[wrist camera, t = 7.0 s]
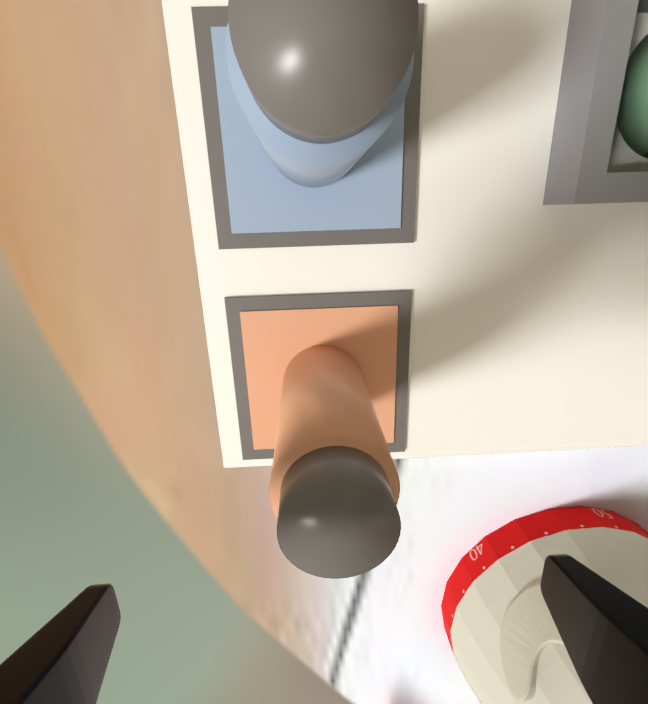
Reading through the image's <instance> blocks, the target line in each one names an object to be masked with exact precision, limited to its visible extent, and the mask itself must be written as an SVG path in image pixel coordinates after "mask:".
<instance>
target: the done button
mask: <svg viewBox="0 0 648 704" xmlns="http://www.w3.org/2000/svg"><path fill="white" fill-rule="evenodd" d="M617 123H618V127H619V130H620V133H621V135H622V137H623V139H624V140H625V142H626V143H627V145H628V146H629V147H630V148H631V149H632V150H633V151H634V152H635V153H637V154H639V155H640V156H642V157H644V158H647V159H648V34H647V35H646V36H645V37H644V38H643V39H642V40H641V42H640V43H639V44H638V45H637V47H636V48H635V50H634V51H633V52H632V54H631V56H630V58H629V59H628V62H627V67H626V72H625V78H624V83H623V88H622V94H621V99H620V104H619V110H618V115H617Z"/></svg>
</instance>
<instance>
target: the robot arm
mask: <svg viewBox="0 0 648 704" xmlns="http://www.w3.org/2000/svg"><path fill="white" fill-rule="evenodd" d="M540 587H541V592H542V596H543V598H544V600H545V603H546V605H547V607H548V609H549V612H550V614H551V616H552V619H553V621H554V623H555V625H556V628H557V630H558V632H559V634H560V637H561V639H562V641H563V643H564V646H565V648H566V650H567V653H568V655H569V657H570V659H571V662H572V664H573V666H574V668H575V670H576V672H577V675H578V677H579V679H580V681H581V683H582V685H583V687H584V689H585V690H586V692H587V694H588V696H589V698H590V700H591V702H592V703H593V704H648V608H647V607H646V606H644V605H643V604H641V603H640V602H638V601H637V600H635V599H634V598H632V597H631V596H629V595H628V594H627V593H625V592H624V591H622V590H621V589H619V588H618V587H616V586H615V585H613V584H612V583H610V582H609V581H607V580H606V579H604V578H603V577H601V576H600V575H598V574H597V573H595V572H594V571H592V570H591V569H589V568H588V567H587V566H585V565H584V564H582V563H581V562H579V561H578V560H576V559H575V558H573V557H572V556H570V555H568V554H551V555H548V556H547V557H546V558H545V562H544V567H543V572H542V577H541V582H540ZM119 624H120V610H119V606H118V602H117V598H116V594H115V591H114V588H113V586H112V585H111V584H96V585H91V586H89V587H87V588H86V589H84V590H83V591H82V592H81V593H80V594H79V595H78V596H77V597H76V598H75V599H73V600H72V601H71V602H70V603H69V604H68V605H67V606H65V607H64V608H63V609H62V610H61V611H60V612H59V613H58V614H57V615H55V616H54V617H53V618H52V619H51V620H50V621H49V622H48V623H46V624H45V625H44V626H43V627H42V628H41V629H40V630H39V631H37V632H36V633H35V634H34V635H33V636H32V637H31V638H30V639H29V640H27V641H26V642H25V643H24V644H23V645H22V646H21V647H19V648H18V649H17V650H16V651H15V652H14V653H13V654H12V655H11V656H9V658H7V659H6V660H5V661H4V662H3V663H2V664H1V665H0V704H96V702H97V699H98V695H99V692H100V688H101V685H102V682H103V679H104V675H105V672H106V669H107V665H108V662H109V658H110V655H111V651H112V648H113V645H114V642H115V638H116V635H117V631H118V628H119Z"/></svg>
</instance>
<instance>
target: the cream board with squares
mask: <svg viewBox="0 0 648 704" xmlns="http://www.w3.org/2000/svg"><path fill="white" fill-rule="evenodd" d="M162 7H163V15H164V22H165V30H166V37H167V45H168V52H169V60H170V67H171V75H172V82H173V89H174V97H175V104H176V112H177V119H178V127H179V134H180V142H181V149H182V157H183V164H184V172H185V179H186V187H187V194H188V202H189V209H190V217H191V224H192V232H193V239H194V247H195V254H196V262H197V269H198V277H199V284H200V292H201V299H202V307H203V314H204V322H205V329H206V337H207V344H208V352H209V359H210V367H211V374H212V382H213V389H214V397H215V404H216V412H217V419H218V427H219V434H220V441H221V449H222V456H223V464H224V468H230V467H249V466H268V465H272V464H273V457H274V449H275V441H276V433H277V426H278V418H279V410H280V402H281V395H282V387H283V379H284V374H285V370H286V368H287V366H288V364H289V363H290V361H291V360H292V359H293V358H294V357H295V356H296V355H297V354H298V353H300V352H301V351H303V350H305V349H307V348H310V347H313V346H318V345H329V346H334V347H337V348H340V349H342V350H344V351H346V352H347V353H348V354H350V355H351V356H352V357H353V358H354V360H355V361H356V362H357V364H358V366H359V368H360V371H361V374H362V376H363V379H364V382H365V385H366V387H367V390H368V393H369V396H370V399H371V401H372V404H373V407H374V410H375V412H376V415H377V418H378V421H379V424H380V426H381V429H382V432H383V435H384V437H385V440H386V443H387V446H388V448H389V451H390V454H391V457H392V459H401V458H420V457H439V456H458V455H477V454H495V453H514V452H533V451H552V450H571V449H590V448H609V447H628V446H647V445H648V159H647V158H644V157H642V156H640V155H639V154H637V153H635V152H634V151H633V150H632V149H631V148H630V147H629V146H628V145H627V143H626V142H625V140H624V139H623V137H622V135H621V133H620V130H619V127H618V123H617V115H618V110H619V104H620V99H621V94H622V88H623V83H624V78H625V72H626V67H627V62H628V59H629V58H630V56H631V54H632V52H633V51H634V50H635V48H636V47H637V45H638V44H639V43H640V42H641V40H642V39H643V38H644V37H645V36H646V35H647V34H648V0H418V11H419V22H418V32H417V39H416V44H415V49H414V64H413V72H412V77H411V81H410V85H409V88H408V91H407V94H406V97H405V100H404V102H403V104H402V106H401V108H400V110H399V112H398V113H397V115H396V117H395V118H394V120H393V121H392V123H391V124H390V125H389V126H388V128H387V129H386V130H385V131H384V132H383V134H382V135H381V136H380V137H379V138H378V139H377V140H376V141H375V142H374V144H373V145H372V146H371V147H370V148H369V149H368V150H367V151H366V152H365V153H364V155H363V156H362V157H361V158H360V159H359V160H358V161H357V162H356V163H355V165H354V166H353V167H352V168H351V169H350V170H349V171H348V172H347V173H346V174H345V175H344V176H343V177H342V178H341V179H339V180H338V181H336V182H334V183H333V184H330V185H328V186H324V187H317V188H310V187H304V186H301V185H298V184H295V183H293V182H292V181H290V180H289V179H287V178H286V177H285V176H283V175H282V174H281V173H280V171H279V170H278V169H277V168H276V166H275V165H274V163H273V162H272V160H271V158H270V157H269V155H268V153H267V152H266V150H265V148H264V146H263V145H262V143H261V141H260V140H259V138H258V136H257V134H256V133H255V131H254V129H253V128H252V126H251V124H250V122H249V121H248V119H247V117H246V116H245V114H244V112H243V110H242V108H241V106H240V104H239V103H238V101H237V98H236V96H235V93H234V90H233V88H232V85H231V81H230V77H229V73H228V67H227V60H226V32H227V24H228V0H162Z"/></svg>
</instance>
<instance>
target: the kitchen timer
mask: <svg viewBox="0 0 648 704" xmlns="http://www.w3.org/2000/svg"><path fill="white" fill-rule="evenodd" d="M551 554H568V555H570V556H572V557H573V558H575V559H576V560H578V561H579V562H581V563H582V564H584V565H585V566H587V567H588V568H589V569H591V570H592V571H594V572H595V573H597V574H598V575H600V576H601V577H603V578H604V579H606V580H607V581H609V582H610V583H612V584H613V585H615V586H616V587H618V588H619V589H621V590H622V591H624V592H625V593H627V594H628V595H629V596H631V597H632V598H634V599H635V600H637V601H638V602H640V603H641V604H643V605H644V606H646V607H647V608H648V533H647V532H646V531H645V530H644V529H642V528H641V527H640V526H639V525H638V524H637V523H635V522H633V521H631V520H629V519H627V518H625V517H623V516H621V515H619V514H617V513H615V512H613V511H608V510H602V509H596V508H590V507H584V506H578V507H566V508H554V509H547V510H543V511H540V512H537V513H534V514H531V515H528V516H524V517H521V518H518V519H515V520H513V521H511V522H510V523H508V524H506V525H504V526H503V527H501V528H499V529H497V530H496V531H494V532H492V533H490V534H489V535H487V536H485V537H484V538H483V539H482V540H481V541H480V542H479V543H478V544H476V545H475V546H474V547H473V548H472V549H471V550H470V551H469V552H468V553H467V554H466V555H465V556H464V557H462V559H461V560H460V562H459V563H458V565H457V567H456V568H455V570H454V571H453V573H452V575H451V576H450V578H449V579H448V581H447V584H446V588H445V592H444V597H443V601H442V605H441V607H442V614H443V620H444V627H445V630H446V633H447V636H448V639H449V642H450V645H451V648H452V651H453V654H454V656H455V658H456V661H457V663H458V665H459V667H460V669H461V671H462V673H463V675H464V677H465V679H466V680H467V682H468V684H469V685H470V687H471V689H472V690H473V692H474V694H475V695H476V697H477V698H478V700H479V702H480V703H481V704H593V703H592V702H591V700H590V698H589V696H588V694H587V692H586V690H585V689H584V687H583V685H582V683H581V681H580V679H579V677H578V675H577V672H576V670H575V668H574V666H573V664H572V662H571V659H570V657H569V655H568V653H567V650H566V648H565V646H564V643H563V641H562V639H561V637H560V634H559V632H558V630H557V628H556V625H555V623H554V621H553V619H552V616H551V614H550V612H549V609H548V607H547V605H546V603H545V600H544V598H543V596H542V592H541V587H540V582H541V577H542V572H543V567H544V562H545V558H546V557H547V556H548V555H551Z"/></svg>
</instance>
